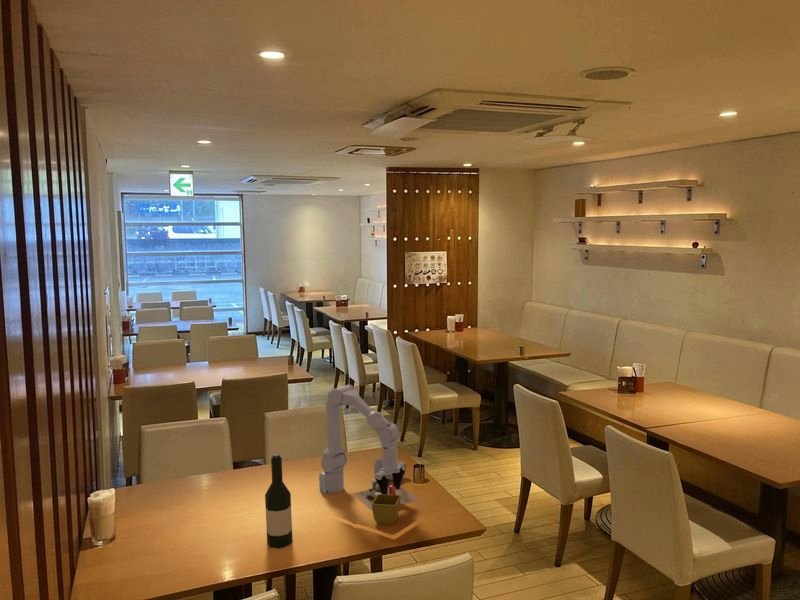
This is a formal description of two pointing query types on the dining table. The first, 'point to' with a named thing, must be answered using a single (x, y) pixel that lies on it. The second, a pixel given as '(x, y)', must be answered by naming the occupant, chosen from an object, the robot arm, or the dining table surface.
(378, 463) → the teacup
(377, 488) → the walnut ball
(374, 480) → the anvil
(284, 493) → the wine bottle
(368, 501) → the bench board
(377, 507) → the flower pot
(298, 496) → the dining table surface
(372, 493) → the lever
